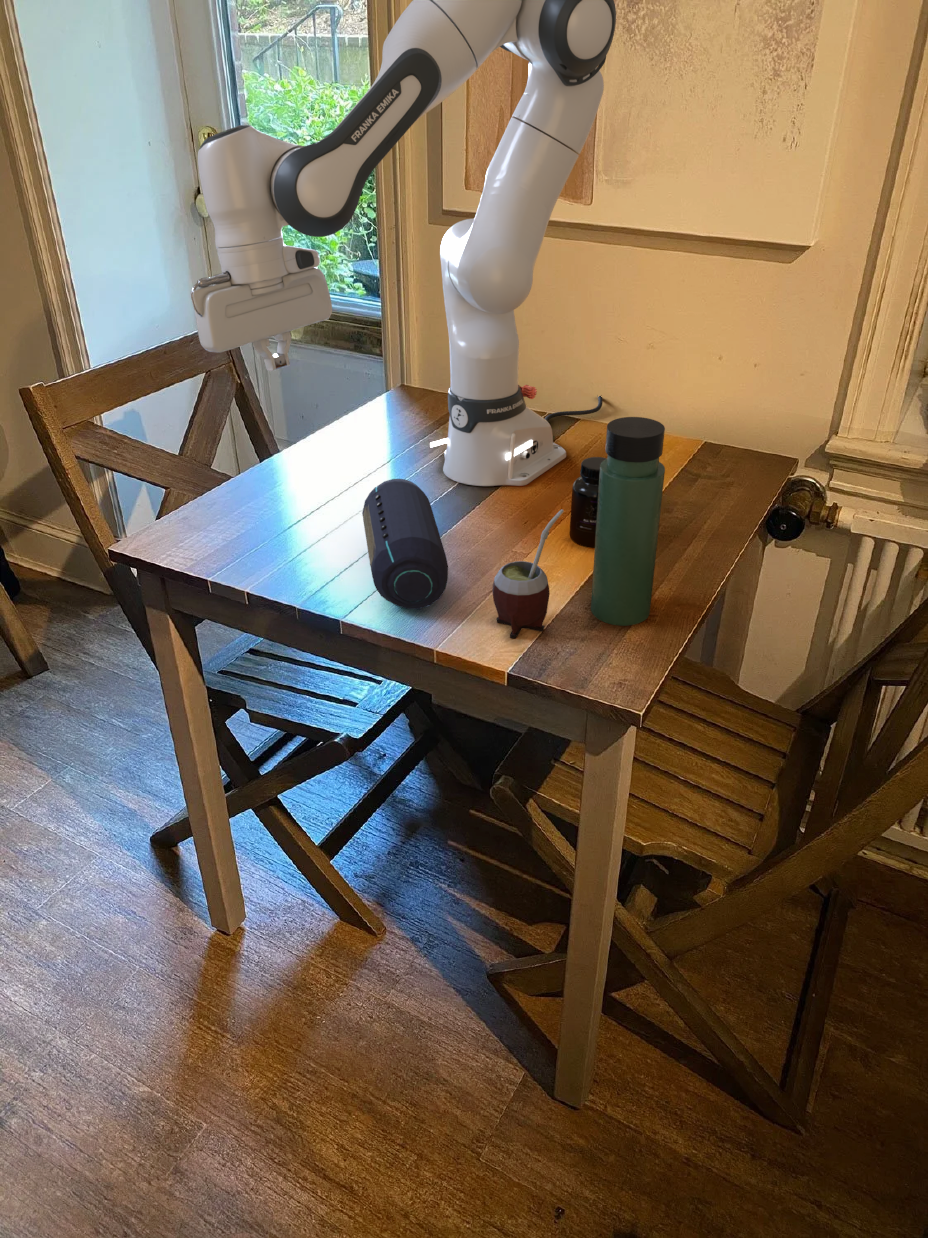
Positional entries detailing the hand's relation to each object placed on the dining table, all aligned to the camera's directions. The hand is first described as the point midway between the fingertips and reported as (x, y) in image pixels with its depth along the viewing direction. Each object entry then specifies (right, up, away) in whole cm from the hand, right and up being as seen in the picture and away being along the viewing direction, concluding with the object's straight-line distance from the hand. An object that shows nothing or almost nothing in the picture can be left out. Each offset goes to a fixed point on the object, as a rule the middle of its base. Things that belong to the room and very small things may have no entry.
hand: (278, 368), depth 131 cm
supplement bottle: (+45, -23, +7) cm, 51 cm away
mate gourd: (+33, -36, -12) cm, 51 cm away
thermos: (+46, -34, -10) cm, 58 cm away
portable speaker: (+18, -29, 0) cm, 34 cm away
